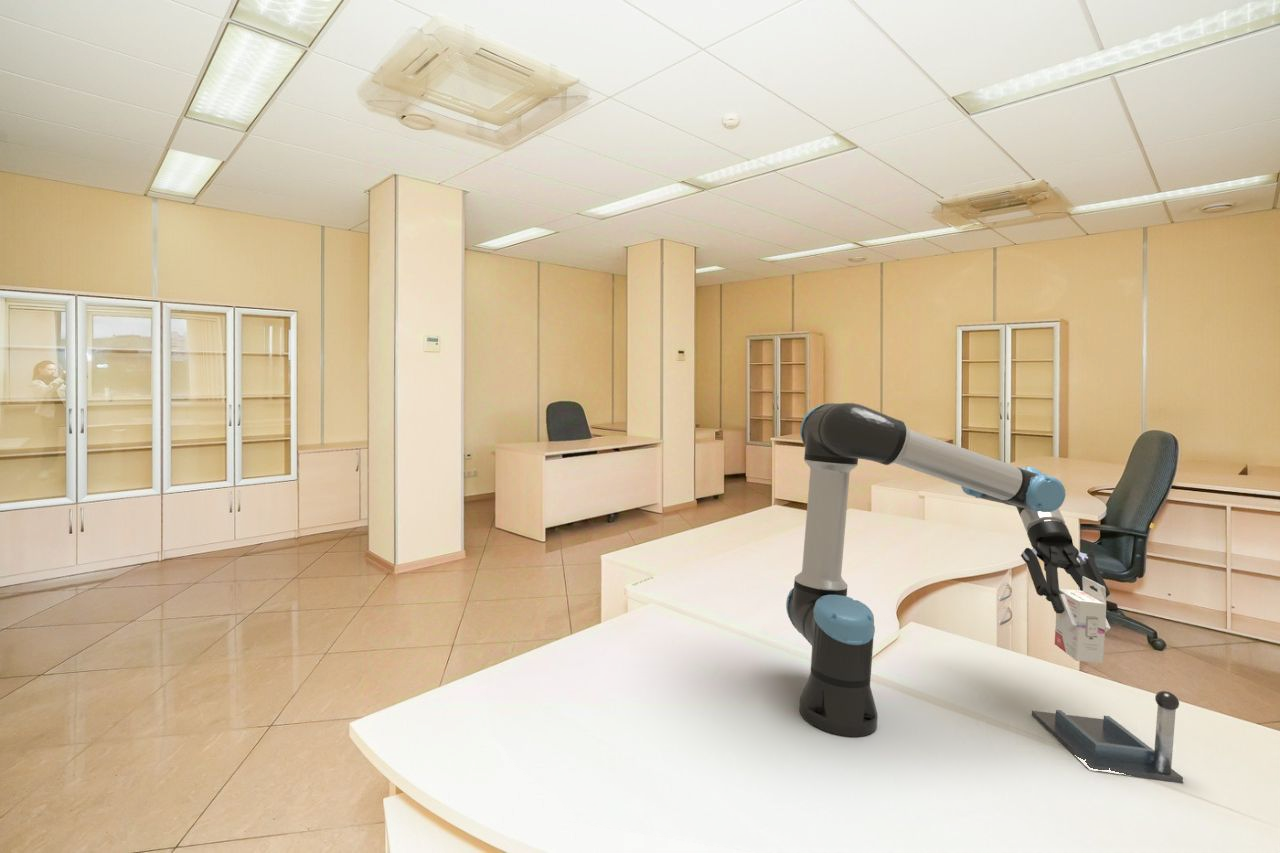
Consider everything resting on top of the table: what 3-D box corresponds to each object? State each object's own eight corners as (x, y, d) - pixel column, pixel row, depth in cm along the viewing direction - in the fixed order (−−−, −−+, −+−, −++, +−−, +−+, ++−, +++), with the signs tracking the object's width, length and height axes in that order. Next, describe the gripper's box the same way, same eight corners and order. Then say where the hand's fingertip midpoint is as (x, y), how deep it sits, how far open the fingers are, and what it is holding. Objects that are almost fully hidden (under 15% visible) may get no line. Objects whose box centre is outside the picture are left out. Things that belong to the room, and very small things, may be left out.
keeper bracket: (1089, 770, 104) (1095, 687, 104) (1031, 715, 124) (1036, 645, 124) (1182, 783, 102) (1189, 698, 102) (1108, 724, 122) (1113, 653, 122)
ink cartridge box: (1052, 644, 119) (1056, 573, 118) (1079, 647, 118) (1083, 575, 117) (1075, 661, 110) (1079, 584, 110) (1104, 664, 109) (1109, 587, 109)
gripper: (1083, 541, 128) (1130, 642, 113) (995, 535, 131) (1029, 633, 115) (1099, 521, 123) (1151, 625, 107) (1008, 516, 126) (1045, 616, 110)
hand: (1088, 629), depth 111 cm, fingers closed on ink cartridge box, 5 cm apart
